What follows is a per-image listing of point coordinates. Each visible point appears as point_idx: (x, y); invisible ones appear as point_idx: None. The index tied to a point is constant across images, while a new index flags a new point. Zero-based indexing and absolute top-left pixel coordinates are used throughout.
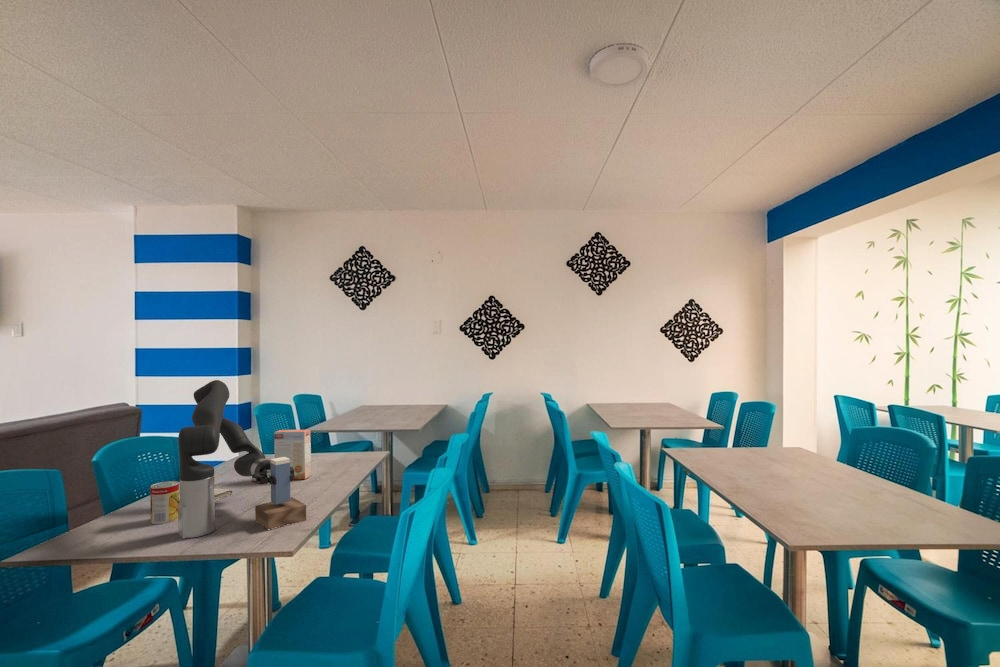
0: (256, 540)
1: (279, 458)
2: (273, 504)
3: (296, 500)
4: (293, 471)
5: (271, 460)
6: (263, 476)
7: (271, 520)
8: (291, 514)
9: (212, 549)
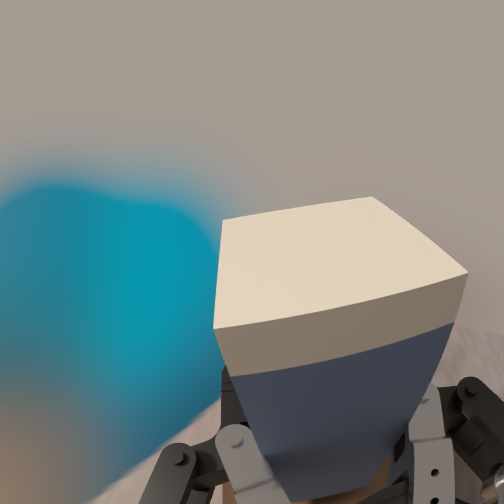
0: None
1: (331, 259)
2: (348, 499)
3: (228, 493)
4: (178, 445)
5: (442, 264)
6: (466, 387)
7: None
8: None
9: (485, 338)
